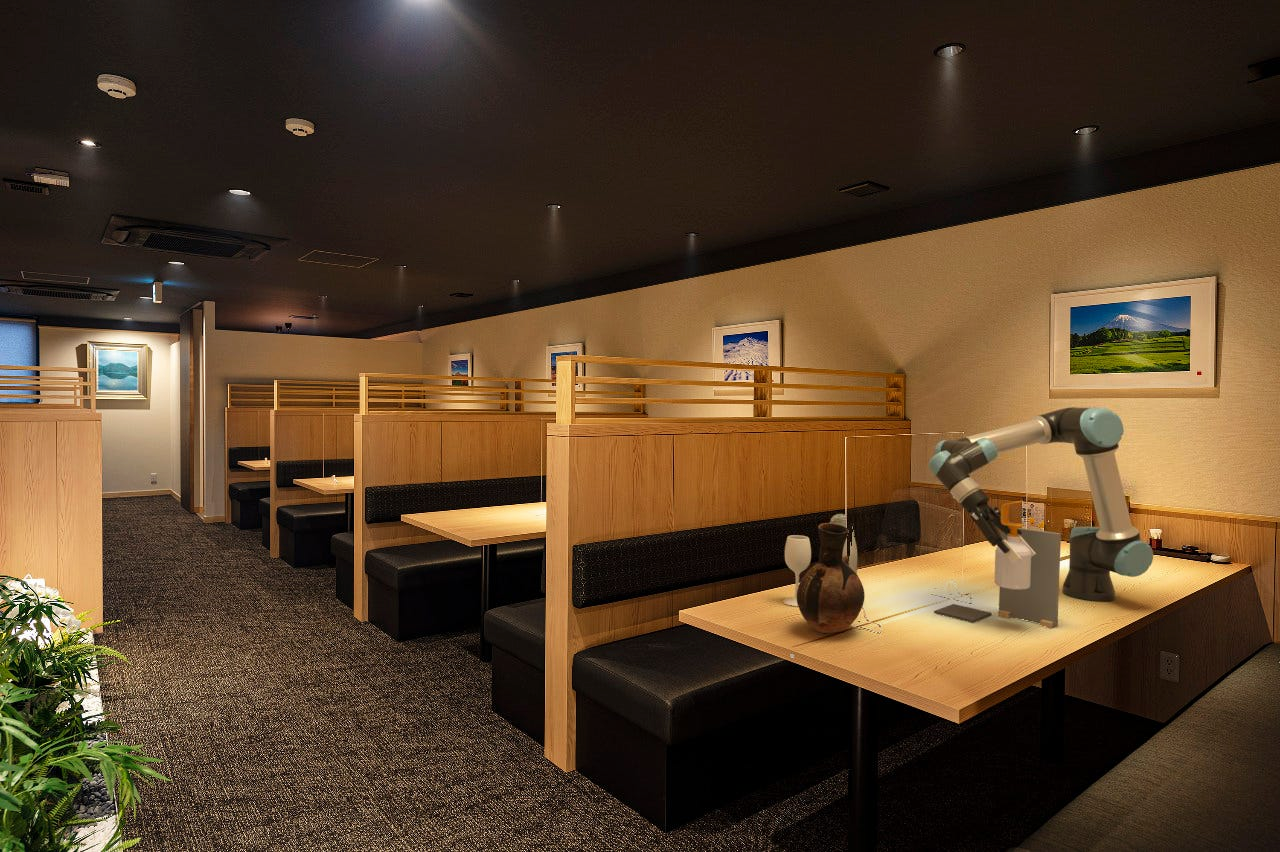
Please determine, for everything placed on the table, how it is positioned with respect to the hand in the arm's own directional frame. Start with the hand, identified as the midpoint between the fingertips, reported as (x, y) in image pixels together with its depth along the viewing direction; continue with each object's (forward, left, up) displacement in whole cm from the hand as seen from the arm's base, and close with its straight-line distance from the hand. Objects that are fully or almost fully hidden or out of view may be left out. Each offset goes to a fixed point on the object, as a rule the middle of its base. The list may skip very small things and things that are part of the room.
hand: (1024, 558), depth 209 cm
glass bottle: (+15, -50, -21) cm, 56 cm away
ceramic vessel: (+43, -34, -21) cm, 59 cm away
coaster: (-2, -18, -20) cm, 27 cm away
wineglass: (+28, -57, -21) cm, 67 cm away
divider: (-11, -3, -20) cm, 24 cm away
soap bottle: (0, -3, -8) cm, 9 cm away
